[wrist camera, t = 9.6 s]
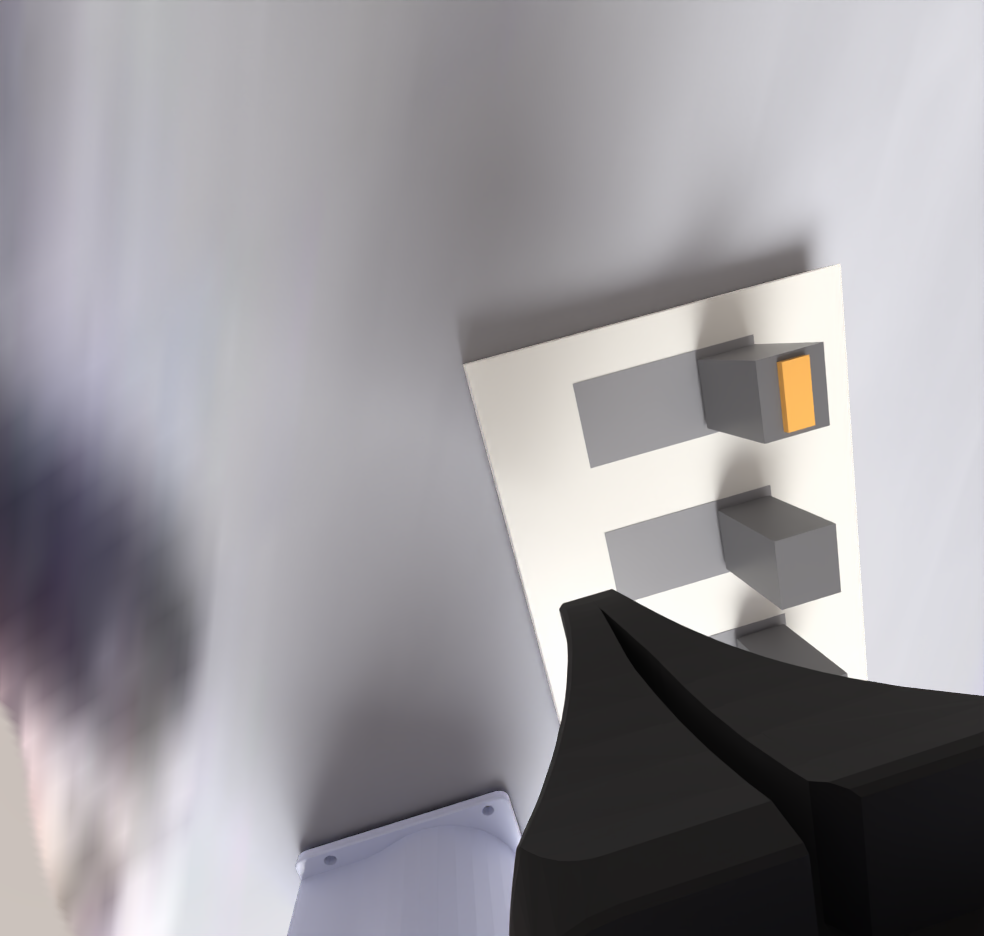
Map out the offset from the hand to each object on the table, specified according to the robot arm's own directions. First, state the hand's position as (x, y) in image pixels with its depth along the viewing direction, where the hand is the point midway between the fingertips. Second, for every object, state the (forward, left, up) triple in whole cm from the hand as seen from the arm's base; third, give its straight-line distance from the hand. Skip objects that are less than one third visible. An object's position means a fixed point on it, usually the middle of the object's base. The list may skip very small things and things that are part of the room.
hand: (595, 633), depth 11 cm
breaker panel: (+6, -2, -8) cm, 10 cm away
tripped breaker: (+8, +3, -6) cm, 10 cm away
